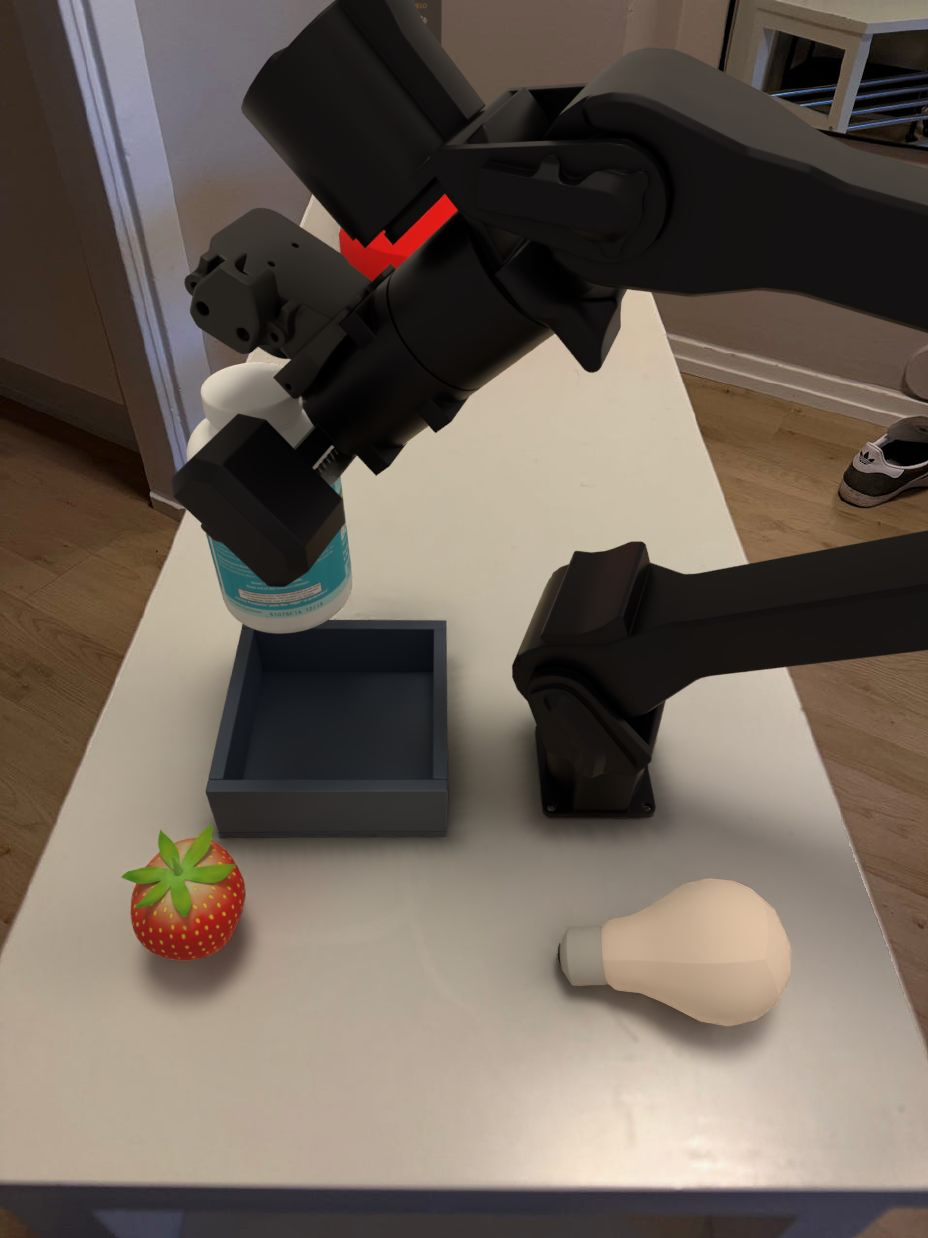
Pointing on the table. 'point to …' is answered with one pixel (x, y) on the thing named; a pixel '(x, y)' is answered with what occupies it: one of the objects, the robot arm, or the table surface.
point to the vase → (385, 253)
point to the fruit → (187, 898)
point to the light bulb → (689, 953)
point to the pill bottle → (240, 587)
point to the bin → (335, 733)
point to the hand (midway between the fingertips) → (249, 488)
